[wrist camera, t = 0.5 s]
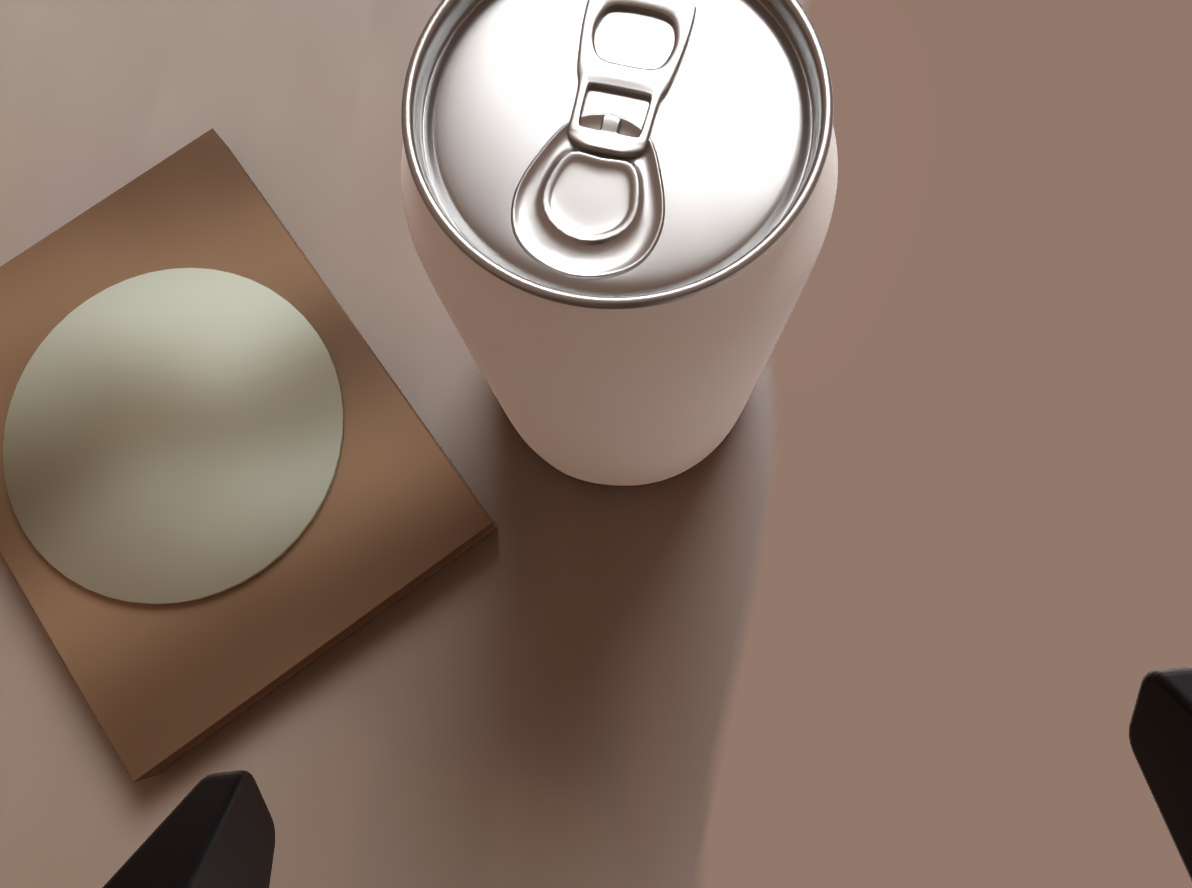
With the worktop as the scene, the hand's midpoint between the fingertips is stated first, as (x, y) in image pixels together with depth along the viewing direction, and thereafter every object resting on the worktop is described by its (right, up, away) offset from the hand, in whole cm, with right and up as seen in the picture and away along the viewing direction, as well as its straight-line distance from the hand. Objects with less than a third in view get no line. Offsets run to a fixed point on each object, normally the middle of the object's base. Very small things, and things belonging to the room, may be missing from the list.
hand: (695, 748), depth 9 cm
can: (0, +5, +14) cm, 15 cm away
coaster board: (-11, +3, +14) cm, 19 cm away
